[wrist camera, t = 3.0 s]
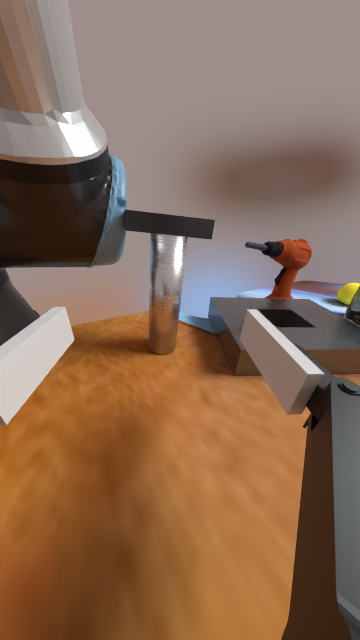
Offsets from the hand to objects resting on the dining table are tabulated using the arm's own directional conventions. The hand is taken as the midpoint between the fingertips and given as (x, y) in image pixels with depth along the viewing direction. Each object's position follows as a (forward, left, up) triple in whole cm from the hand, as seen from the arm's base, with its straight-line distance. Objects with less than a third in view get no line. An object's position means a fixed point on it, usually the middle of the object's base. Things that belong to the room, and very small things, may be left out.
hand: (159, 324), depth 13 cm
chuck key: (0, +10, -9) cm, 14 cm away
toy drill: (+23, +25, -10) cm, 35 cm away
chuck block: (+19, +12, -9) cm, 24 cm away
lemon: (+47, +28, -10) cm, 55 cm away
